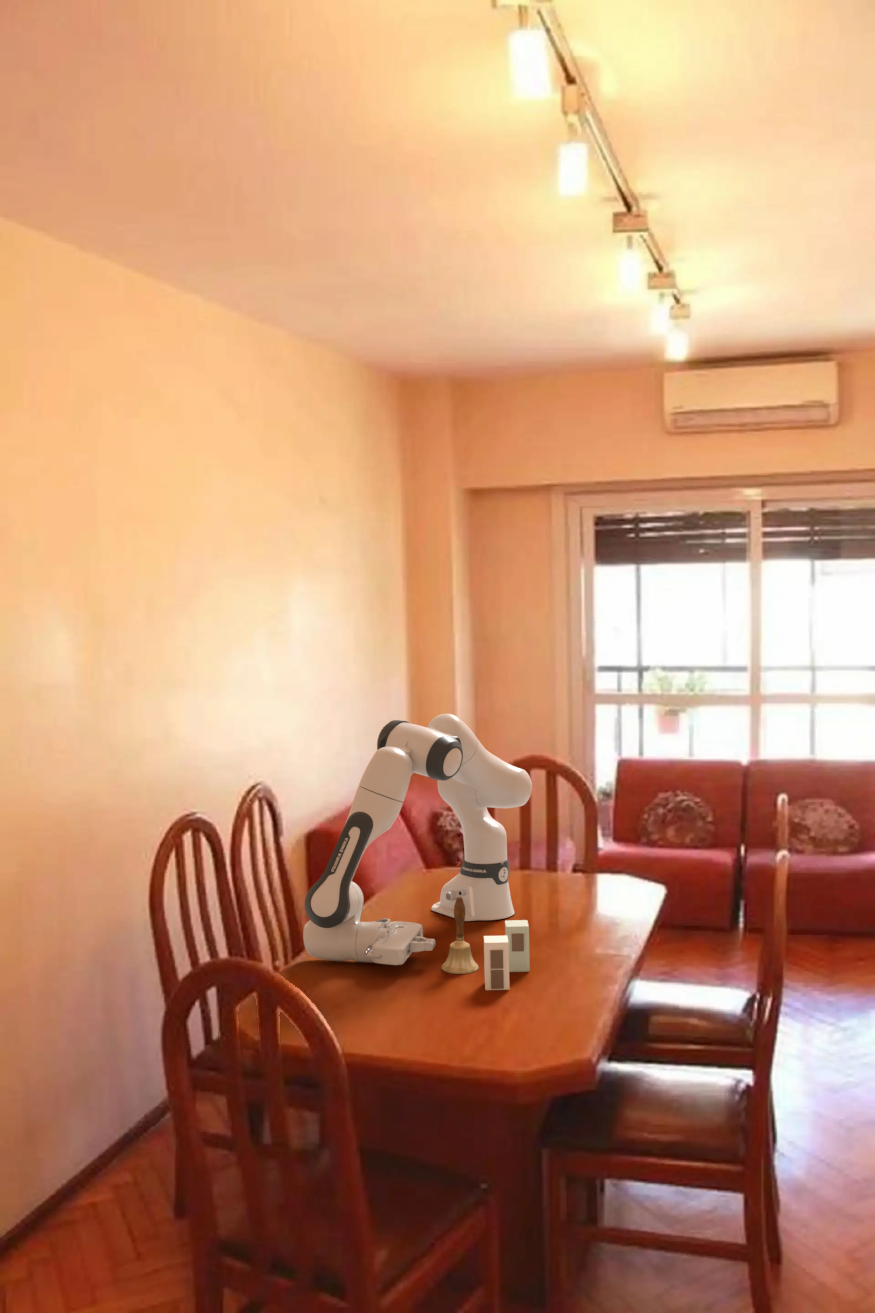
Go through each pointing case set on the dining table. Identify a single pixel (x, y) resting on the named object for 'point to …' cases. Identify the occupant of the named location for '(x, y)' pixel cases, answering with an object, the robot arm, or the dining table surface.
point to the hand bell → (459, 946)
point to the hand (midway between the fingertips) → (433, 945)
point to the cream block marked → (496, 962)
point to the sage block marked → (518, 945)
